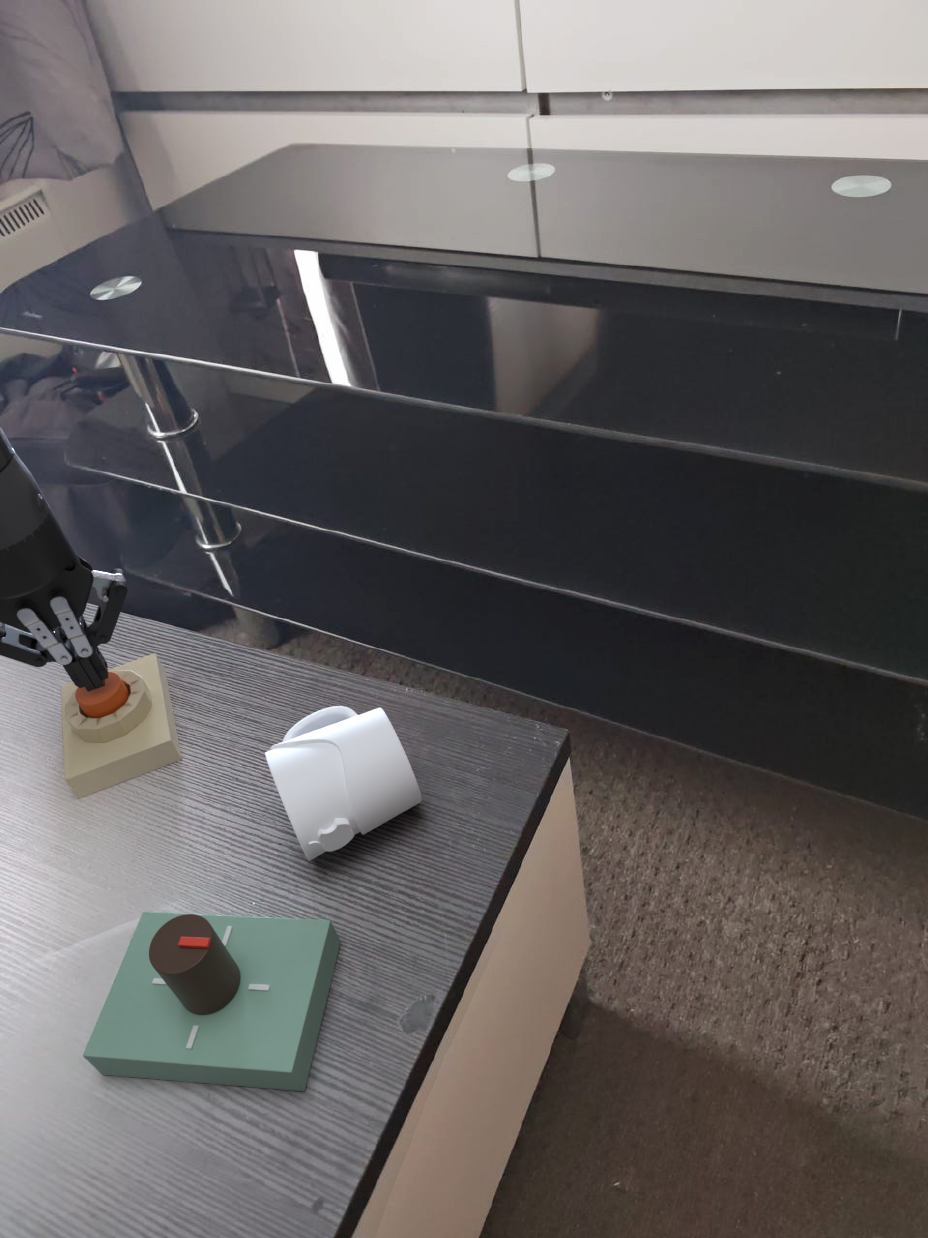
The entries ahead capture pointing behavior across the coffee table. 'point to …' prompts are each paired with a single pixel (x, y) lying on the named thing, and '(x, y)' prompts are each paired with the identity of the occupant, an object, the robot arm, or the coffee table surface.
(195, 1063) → the dial panel
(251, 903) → the coffee table surface
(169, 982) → the dial knob
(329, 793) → the mug
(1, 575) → the robot arm
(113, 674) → the orange push button
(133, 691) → the base
